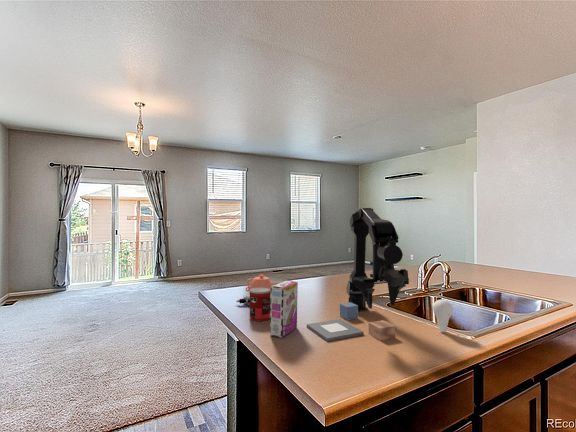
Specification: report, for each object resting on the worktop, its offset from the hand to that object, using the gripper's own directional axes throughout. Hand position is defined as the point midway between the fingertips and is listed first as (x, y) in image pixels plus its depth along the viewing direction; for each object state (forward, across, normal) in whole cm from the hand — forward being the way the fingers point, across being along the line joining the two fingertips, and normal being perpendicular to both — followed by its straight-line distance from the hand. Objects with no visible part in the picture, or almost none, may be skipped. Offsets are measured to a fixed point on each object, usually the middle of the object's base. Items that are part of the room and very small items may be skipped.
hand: (381, 306), depth 103 cm
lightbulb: (+10, +21, -6) cm, 24 cm away
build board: (+10, -12, +10) cm, 18 cm away
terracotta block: (+10, 0, 0) cm, 10 cm away
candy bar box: (+10, -28, +16) cm, 34 cm away
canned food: (+10, -31, +33) cm, 46 cm away
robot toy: (+10, -27, +50) cm, 58 cm away
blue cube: (+10, +1, +20) cm, 22 cm away
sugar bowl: (+10, -20, +66) cm, 70 cm away
